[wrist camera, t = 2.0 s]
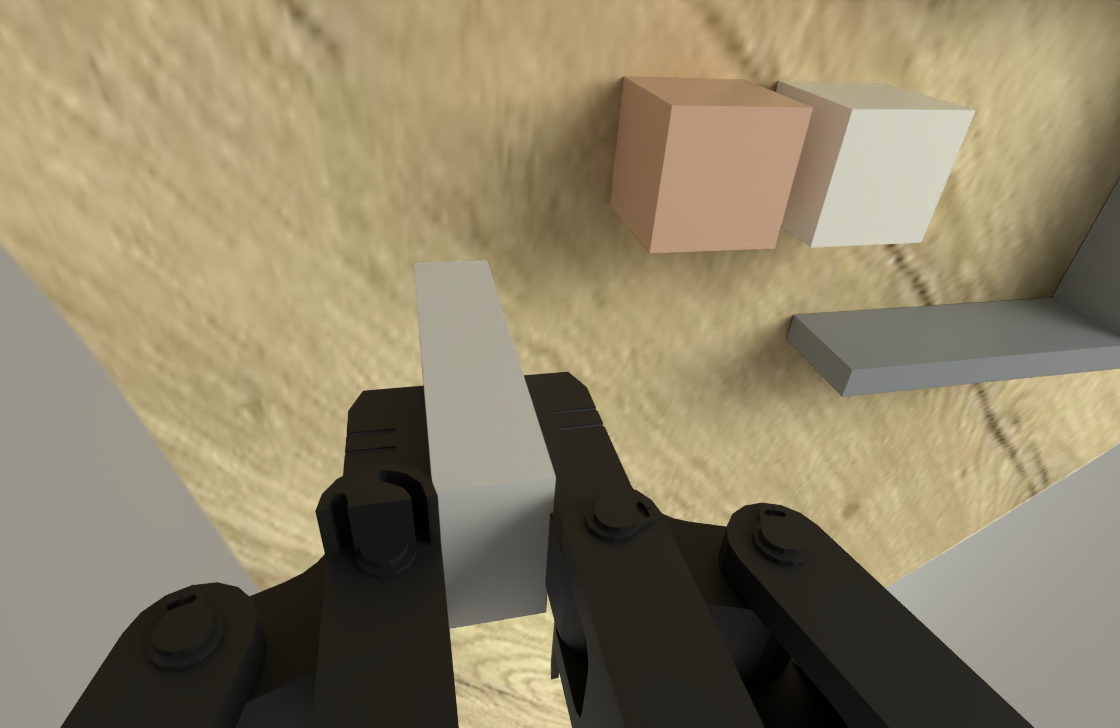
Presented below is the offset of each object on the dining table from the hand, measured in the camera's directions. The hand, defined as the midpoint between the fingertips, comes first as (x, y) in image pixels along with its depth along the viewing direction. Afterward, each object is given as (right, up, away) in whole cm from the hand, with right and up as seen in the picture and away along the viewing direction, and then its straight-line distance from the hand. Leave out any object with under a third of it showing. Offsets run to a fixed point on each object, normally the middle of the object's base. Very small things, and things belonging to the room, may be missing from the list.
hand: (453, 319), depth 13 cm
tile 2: (+13, +9, +13) cm, 21 cm away
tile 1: (+7, +8, +12) cm, 16 cm away
